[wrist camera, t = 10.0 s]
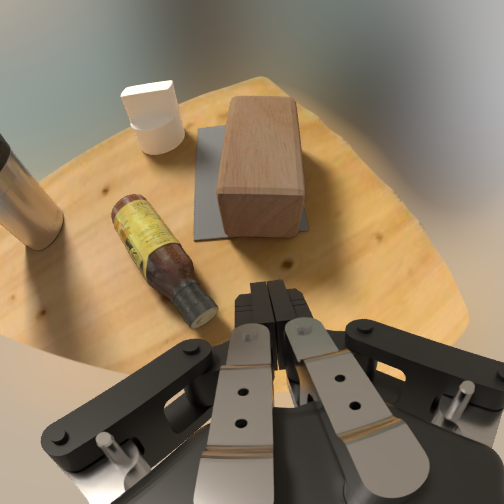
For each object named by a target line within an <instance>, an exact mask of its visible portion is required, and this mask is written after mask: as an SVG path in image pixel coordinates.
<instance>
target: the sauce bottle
mask: <svg viewBox="0 0 504 504" xmlns="http://www.w3.org/2000/svg"><path fill="white" fill-rule="evenodd" d="M111 217H112V221H113V224H114V228H115V230H116V231H117V233H118V235H119V237H120V238H121V240H122V242H123V243H124V245H125V247H126V249H127V250H128V252H129V254H130V255H131V257H132V259H133V261H134V262H135V264H136V265H137V267H138V268H139V270H140V271H141V273H142V275H143V276H144V278H145V279H146V281H147V282H148V284H149V285H150V286H152V287H153V288H155V289H156V290H158V291H159V292H161V293H162V294H163V295H165V296H166V297H167V298H169V299H170V300H171V301H172V302H173V303H174V304H175V305H176V307H177V308H178V309H179V311H180V312H181V314H182V315H183V316H184V320H185V322H186V323H187V324H188V325H189V327H190V328H192V329H195V328H198V327H200V326H202V325H204V324H206V323H207V322H208V321H210V320H211V319H212V318H213V317H214V316H215V314H216V313H217V312H218V306H217V305H216V304H215V302H214V301H213V300H212V299H211V298H210V297H208V296H207V295H206V294H205V292H204V291H203V290H202V288H201V287H200V285H199V283H198V282H197V281H195V278H194V267H193V263H192V260H191V259H190V257H189V256H188V255H187V254H186V252H185V251H184V250H183V248H182V246H181V244H180V243H179V242H178V240H177V239H176V238H175V236H174V235H173V234H172V232H171V231H170V230H169V228H168V227H167V226H166V224H165V223H164V222H163V220H162V219H161V218H160V216H159V215H158V214H157V212H156V211H155V210H154V208H153V207H152V205H151V204H150V203H149V202H148V201H147V200H146V198H145V197H143V196H141V195H136V194H132V195H128V196H125V197H124V198H122V199H121V200H120V201H118V202H117V203H116V205H115V206H114V208H113V210H112V214H111Z"/></svg>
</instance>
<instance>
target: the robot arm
mask: <svg viewBox="0 0 504 504" xmlns="http://www.w3.org/2000/svg"><path fill="white" fill-rule="evenodd" d="M62 223H63V213H62V211H61V209H60V208H59V207H58V206H57V205H56V204H55V202H54V201H53V200H52V199H51V198H50V197H49V195H48V194H47V193H46V192H45V191H44V189H43V188H42V187H41V186H40V185H39V183H38V182H37V181H36V180H35V179H34V177H33V176H32V175H31V174H30V173H29V171H28V170H27V169H26V167H25V166H24V165H23V163H22V162H21V161H20V160H19V158H18V157H17V156H16V154H15V153H14V152H13V150H12V149H11V148H10V146H9V145H8V143H7V142H6V141H5V139H4V138H3V137H2V135H1V134H0V224H1V225H2V226H3V227H4V228H5V229H7V230H8V231H9V232H10V233H11V234H12V235H14V236H15V237H16V238H17V239H18V240H19V241H21V242H22V243H23V244H24V245H27V246H29V247H30V248H31V249H33V250H42V249H44V248H46V247H47V246H49V245H50V244H51V243H52V242H53V241H54V239H55V238H56V237H57V235H58V233H59V231H60V229H61V227H62ZM250 288H251V294H241V295H239V296H238V297H237V298H236V300H235V329H234V330H233V331H232V333H231V336H230V340H229V341H227V342H225V343H223V344H221V345H218V346H214V347H211V346H210V344H209V343H208V342H207V341H205V340H202V339H189V340H185V341H182V342H180V343H179V344H177V345H175V346H174V347H172V348H171V349H169V350H168V351H166V352H165V353H163V354H162V355H160V356H159V357H157V358H156V359H154V360H153V361H151V362H150V363H148V364H147V365H145V366H144V367H142V368H141V369H139V370H138V371H136V372H135V373H133V374H131V375H130V376H128V377H127V378H125V379H124V380H122V381H121V382H119V383H117V384H116V385H114V386H113V387H111V388H109V389H108V390H106V391H105V392H103V393H102V394H100V395H98V396H97V397H95V398H94V399H92V400H90V401H89V402H87V403H85V404H84V405H82V406H81V407H79V408H77V409H76V410H74V411H72V412H71V413H69V414H68V415H66V416H64V417H62V418H61V419H59V420H57V421H56V422H54V423H52V424H51V425H49V426H48V427H47V428H46V429H45V430H44V432H43V434H42V436H41V445H42V448H43V449H44V451H45V452H46V453H47V454H48V455H49V456H50V457H51V458H52V459H53V460H54V461H55V462H56V464H57V465H58V467H59V468H60V469H61V470H62V471H63V472H64V473H65V474H66V475H67V476H68V477H69V478H70V479H71V480H73V481H74V483H75V484H76V485H77V487H78V488H79V489H80V491H81V492H82V493H83V495H84V496H85V497H86V499H87V500H88V501H89V503H90V504H504V465H503V463H502V460H501V458H500V457H499V455H498V454H497V453H496V452H495V451H494V450H493V449H492V446H493V442H494V439H495V436H496V433H497V429H498V426H499V422H500V418H501V415H502V412H503V411H504V363H503V362H500V361H496V360H493V359H489V358H486V357H483V356H480V355H477V354H473V353H470V352H466V351H464V350H460V349H457V348H454V347H451V346H448V345H445V344H442V343H439V342H436V341H433V340H430V339H426V338H423V337H420V336H417V335H414V334H411V333H408V332H405V331H402V330H399V329H396V328H393V327H390V326H387V325H385V324H382V323H379V322H376V321H373V320H368V319H358V320H354V321H352V322H350V323H349V324H348V325H347V326H346V329H345V331H331V330H326V329H325V328H324V326H323V325H322V323H321V322H320V321H318V320H316V319H314V318H313V316H312V314H311V312H310V310H309V307H308V305H307V303H306V301H305V299H304V296H303V294H302V293H301V292H300V291H298V290H297V289H286V287H285V285H284V282H283V280H274V281H267V285H266V281H265V282H256V283H250ZM277 360H278V365H279V370H283V369H286V373H287V385H288V388H289V391H290V394H291V398H292V400H293V404H294V407H295V408H279V407H274V386H273V381H274V378H275V376H274V371H276V370H278V366H277ZM378 361H379V362H382V363H384V364H387V365H389V366H392V367H394V368H397V369H399V370H401V371H402V372H403V373H404V374H405V376H406V381H402V380H400V379H397V378H395V377H392V376H390V375H387V374H385V373H382V372H380V371H378V370H376V367H377V362H378ZM182 389H184V391H185V393H184V394H182V395H181V396H180V397H178V398H177V399H176V400H175V401H173V402H172V403H171V404H169V405H168V406H167V407H166V408H164V406H165V404H166V402H167V401H168V400H169V399H171V398H172V397H173V396H174V395H176V394H177V393H178V392H180V391H181V390H182ZM211 417H212V419H211V423H209V424H207V425H205V426H204V427H202V428H200V427H201V426H202V425H204V424H205V423H206V422H207V421H208V420H209V419H210V418H211ZM199 428H200V429H199ZM198 429H199V430H198ZM194 432H195V433H194ZM186 439H187V440H186ZM185 440H186V441H185ZM184 441H185V442H184ZM183 442H184V443H183ZM180 444H182V445H180ZM179 445H180V446H179ZM178 446H179V447H178ZM177 447H178V448H177ZM176 448H177V449H176ZM174 449H176V450H175V451H174V452H172V451H173V450H174ZM171 452H172V453H171ZM169 453H171V454H170V455H169V456H168V457H167V458H166V459H164V460H163V461H162V462H161V463H160V464H159V465H157V466H156V467H155V468H154V469H153V470H152V471H151V468H152V467H153V466H155V465H156V464H157V463H158V462H159V461H161V460H162V459H163V458H165V457H166V456H167V455H168V454H169Z"/></svg>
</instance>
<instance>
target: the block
mask: <svg viewBox="0 0 504 504" xmlns="http://www.w3.org/2000/svg"><path fill="white" fill-rule="evenodd" d="M305 195H306V192H305V181H304V170H303V159H302V149H301V140H300V131H299V123H298V114H297V107H296V102H295V100H294V98H291V97H280V96H235V97H233V98H232V99H231V101H230V106H229V112H228V117H227V123H226V129H225V135H224V141H223V147H222V153H221V160H220V166H219V173H218V180H217V187H216V197H217V202H218V206H219V211H220V216H221V220H222V225H223V229H224V232H225V234H226V235H228V236H241V237H281V238H291V237H294V236H296V234H297V232H298V228H299V223H300V219H301V214H302V210H303V205H304V200H305Z"/></svg>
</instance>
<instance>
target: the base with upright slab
mask: <svg viewBox="0 0 504 504" xmlns="http://www.w3.org/2000/svg"><path fill="white" fill-rule="evenodd" d="M121 99H122V102H123V104H124V107H125V109H126V112H127V114H128V117H129V120H130V122H131V126H132V129H133V131H134V134H135V136H136V139H137V141H138V144H139V146H140V148H141V150H142V151H143V152H144V153H146V154H149V155H159V154H164V153H167V152H169V151H171V150H173V149H175V148H176V147H177V146H179V145H180V143H181V142H182V141H183V139H184V137H185V131H184V127H183V123H182V119H181V115H180V111H179V107H178V103H177V99H176V95H175V90H174V86H173V82H172V80H170V81H163V82H157V83H149V84H143V85H137V86H132V87H127V88H126V89H125V90H124V91H123V92H122V94H121Z"/></svg>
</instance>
